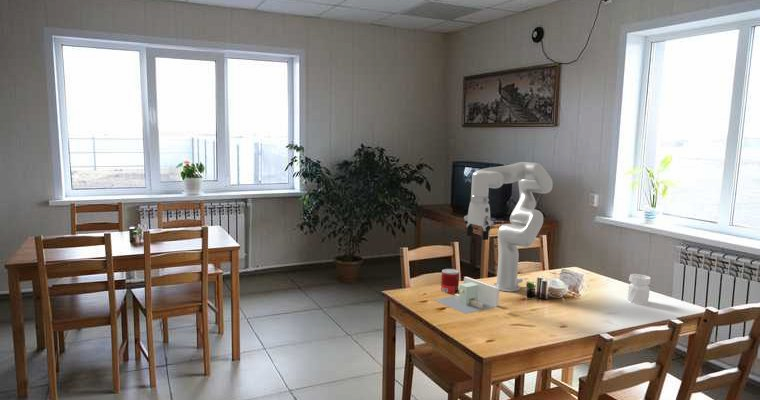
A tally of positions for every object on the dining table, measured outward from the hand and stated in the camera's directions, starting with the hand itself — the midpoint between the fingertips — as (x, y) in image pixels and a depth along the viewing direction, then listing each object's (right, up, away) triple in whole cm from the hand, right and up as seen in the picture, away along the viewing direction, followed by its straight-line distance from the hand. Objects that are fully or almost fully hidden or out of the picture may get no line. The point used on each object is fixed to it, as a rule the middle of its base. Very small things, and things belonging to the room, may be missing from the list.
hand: (477, 237), depth 234 cm
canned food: (-11, -27, +10) cm, 31 cm away
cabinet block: (-5, -28, -7) cm, 29 cm away
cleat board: (-7, -29, -7) cm, 31 cm away
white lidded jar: (+75, -30, +6) cm, 81 cm away
